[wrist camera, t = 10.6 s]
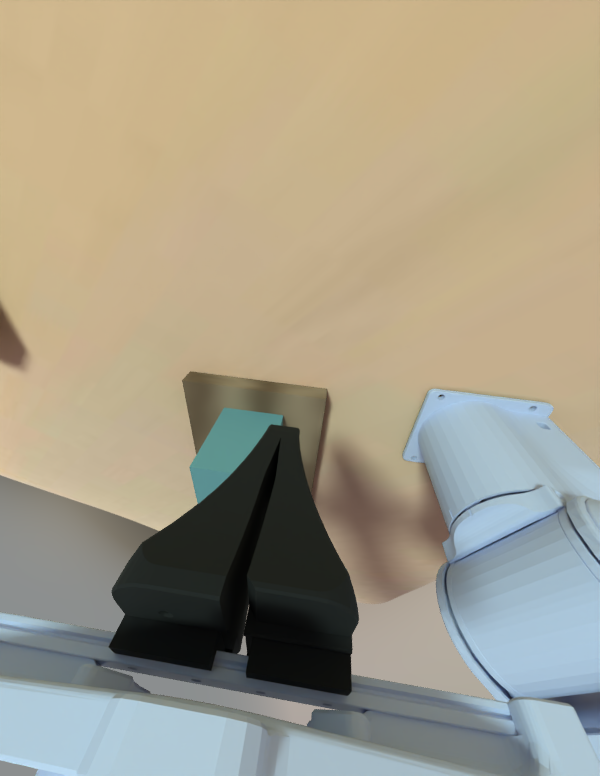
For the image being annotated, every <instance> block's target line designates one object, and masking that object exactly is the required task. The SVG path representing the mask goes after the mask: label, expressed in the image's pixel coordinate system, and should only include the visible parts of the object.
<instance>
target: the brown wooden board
mask: <svg viewBox="0 0 600 776" xmlns="http://www.w3.org/2000/svg"><path fill="white" fill-rule="evenodd" d="M182 382H183V387H184V392H185V398H186V403H187V408H188V413H189V418H190V424H191V429H192V434H193V439H194V444H195V450H196V455H197V453H198V452H199V450H200V448H201V447H202V445H203V443H204V441H205V440H206V438H207V436H208V434H209V433H210V431H211V429H212V428H213V426H214V424H215V422H216V421H217V419H218V417H219V416H220V414H221V412H222V410H223V409H224V408H232V409H239V410H247V411H254V412H262V413H270V414H277V415H283V426H288V427H296V428H299V430H300V435H299V440H300V451H301V457H302V462H303V467H304V471H305V475H306V478H307V482H308V485H309V489H310V492H312V486H313V479H314V473H315V467H316V461H317V454H318V448H319V442H320V435H321V429H322V423H323V417H324V410H325V404H326V396H327V389H322V388H314V387H307V386H299V385H291V384H283V383H275V382H268V381H260V380H252V379H244V378H236V377H229V376H221V375H213V374H205V373H197V372H190V373H189V374H188V375H187V376H186V377H185V378H184V379H183V380H182Z"/></svg>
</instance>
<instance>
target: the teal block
mask: <svg viewBox="0 0 600 776" xmlns="http://www.w3.org/2000/svg"><path fill="white" fill-rule="evenodd" d="M271 424H273V425H281V426H283V415H277V414H270V413H262V412H254V411H247V410H239V409H232V408H224V409H223V410H222V412H221V414H220V416H219V417H218V419H217V421H216V422H215V424H214V426H213V428H212V429H211V431H210V433H209V434H208V436H207V438H206V440H205V441H204V443H203V445H202V447H201V448H200V450H199V452H198V453H197V455H196V457H195V459H194V460H193V462H192V464H191V465H190V471H191V476H192V480H193V484H194V489H195V493H196V498H197V502H198V504H199V503H200V502H201V501H202V500H203V499H205V498H206V497H207V496H208V495H209V494H210V493H212V492H213V491H214V490H215V489H216V488H217V487H218V486H219V485H220V484H222V483H223V482H224V481H225V480H226V479H227V478H228V477H229V476H230V475H231V474H232V473H233V472H234V471H235V469H236V468H237V467H238V466H239V465H240V464H241V463H242V462H243V461H244V459H245V458H246V457H247V456H248V455H249V453H250V452H251V451H252V450H253V448H254V447H255V446H256V445H257V443H258V442H259V440H260V439H261V438H262V436H263V435H264V433H265V432H266V430H267V428H268V427H269V426H270V425H271Z"/></svg>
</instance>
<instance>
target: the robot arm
mask: <svg viewBox="0 0 600 776" xmlns="http://www.w3.org/2000/svg"><path fill="white" fill-rule="evenodd" d="M442 394H443V396H441V397H438V396H439V395H442ZM532 406H533V407H532ZM530 407H532V408H530ZM552 411H553V406H552V405H550V404H549V403H545V402H537V401H529V400H521V399H513V398H505V397H497V396H489V395H481V394H473V393H465V392H457V391H449V390H441V389H431V390H430V391H428V393H427V395H426V397H425V400H424V402H423V405H422V407H421V410H420V412H419V415H418V417H417V420H416V422H415V425H414V427H413V429H412V432H411V434H410V437H409V439H408V442H407V444H406V447H405V449H404V452H403V458H404V459H405V460H407V461H414V462H421V463H425V465H426V467H427V470H428V473H429V476H430V479H431V482H432V485H433V488H434V491H435V494H436V496H437V499H438V502H439V505H440V508H441V511H442V514H443V517H444V520H445V523H446V525H447V528H448V531H449V534H450V536H449V538H448V539H447V540H446V541H444V542H443V543H442V545H443V548H444V551H445V554H446V557H447V561H448V562H446V563H444V564H443V565H442V566H441V567H440V569H439V571H438V573H437V578H436V593H437V599H438V604H439V608H440V612H441V615H442V618H443V621H444V624H445V627H446V629H447V631H448V633H449V635H450V637H451V640H452V641H453V643H454V645H455V647H456V649H457V650H458V652H459V654H460V655H461V657H462V658H463V660H464V661H465V663H466V664H467V666H468V667H469V668H470V670H471V671H472V672H473V674H474V675H475V676H476V677H477V678H478V680H479V681H480V682H481V683H482V684H483V685H484V686H485V687H486V689H488V691H489V692H490V693H491V694H492V695H493V697H494V698H495V699H496V700H491V699H485V698H480V697H474V696H469V695H463V694H457V693H452V692H446V691H441V690H435V689H430V688H424V687H418V686H413V685H407V684H401V683H396V682H390V681H385V680H379V679H374V678H368V677H362V676H357V675H351V654H352V634H353V632H354V630H355V628H356V626H357V624H358V620H359V615H358V608H357V602H356V597H355V594H354V590H353V586H352V583H351V580H350V576H349V573H348V571H347V570H346V568H345V566H344V564H343V563H342V561H341V559H340V557H339V555H338V554H337V552H336V550H335V548H334V546H333V544H332V542H331V540H330V538H329V536H328V534H327V531H326V529H325V527H324V525H323V523H322V520H321V518H320V516H319V513H318V511H317V508H316V506H315V503H314V500H313V498H312V495H311V492H310V489H309V485H308V482H307V478H306V475H305V471H304V467H303V462H302V457H301V451H300V440H299V435H300V430H299V428H296V427H288V426H281V425H273V424H271V425H270V426H269V427H268V428H267V430H266V432H265V433H264V435H263V436H262V438H261V439H260V440H259V442H258V443H257V445H256V446H255V447H254V448H253V450H252V451H251V452H250V453H249V455H248V456H247V457H246V458H245V459H244V461H243V462H242V463H241V464H240V465H239V466H238V467H237V468H236V469H235V471H234V472H233V473H232V474H231V475H230V476H229V477H228V478H227V479H226V480H225V481H224V482H223V483H222V484H220V485H219V486H218V487H217V488H216V489H215V490H214V491H213V492H212V493H210V494H209V495H208V496H207V497H206V498H205V499H203V500H202V501H201V502H200V503H199V504H197V505H196V506H195V507H193V508H192V509H191V510H189V511H188V512H187V513H185V514H184V515H183V516H181V517H180V518H179V519H177V520H176V521H174V522H173V523H172V524H170V525H169V526H167V527H165V528H164V529H162V530H161V531H159V532H158V533H156V534H155V535H153V536H152V537H150V538H149V539H147V540H146V541H144V542H142V544H141V545H140V546H139V548H138V549H137V550H136V552H135V553H134V555H133V556H132V557H131V559H130V560H129V562H128V563H127V565H126V566H125V568H124V570H123V572H122V573H121V575H120V577H119V578H118V580H117V582H116V583H115V585H114V587H113V589H112V596H113V598H114V600H115V601H116V603H117V604H118V605H119V607H120V608H121V609H122V611H123V612H124V613H125V616H124V618H123V620H122V622H121V624H120V626H119V627H118V629H117V631H116V632H111V631H105V630H99V629H94V628H88V627H83V626H77V625H71V624H66V623H60V622H55V621H49V620H43V619H38V618H32V617H26V616H21V615H16V614H10V613H4V612H0V760H1V761H6V762H11V763H15V764H19V765H23V766H28V767H33V768H37V769H38V771H37V773H36V775H35V776H600V468H599V467H598V466H597V465H596V464H595V463H594V462H593V461H592V460H591V459H590V458H589V457H588V456H587V455H586V454H585V453H584V452H583V451H582V450H581V449H580V448H579V447H578V446H577V445H576V444H575V443H574V442H573V441H572V440H571V439H570V438H569V437H568V436H567V435H566V434H565V433H564V432H563V431H562V430H561V429H560V428H559V427H558V426H557V425H556V424H554V423H553V422H552V421H551V420H550V419H549V418H548V416H549V415H550V414H551V412H552ZM413 456H415V457H413ZM248 605H249V610H248ZM247 611H248V615H247ZM246 616H247V619H246ZM245 622H246V624H245ZM244 627H245V628H244ZM243 633H244V634H243ZM243 635H244V636H246V645H247V656H244V655H239V654H237V653H238V652H239V651H240V649H241V643H242V638H243ZM102 666H104V667H110V668H115V669H120V670H126V671H132V672H137V673H142V674H148V675H153V676H158V677H163V678H169V679H175V680H180V681H185V682H190V683H196V684H202V685H206V686H212V687H217V688H223V689H229V690H234V691H240V692H244V693H249V694H255V695H260V696H266V697H272V698H276V699H282V700H287V701H293V702H298V703H303V704H309V705H314V706H320V707H325V708H330V709H336V710H319V709H318V710H317V709H315V710H314V711H313V712H312V719H311V721H309V723H308V724H307V726H303V725H299V724H295V723H291V722H287V721H283V720H279V719H275V718H271V717H267V716H263V715H259V714H255V713H250V712H246V711H242V710H237V709H233V708H228V707H224V706H219V705H214V704H209V703H203V702H198V701H193V700H187V699H181V698H175V697H170V696H164V695H157V694H150V692H149V691H148V690H146V689H144V688H142V687H140V686H139V685H138V684H137V683H135V682H134V681H133V677H132V676H129V675H126V674H123V673H119V672H116V671H113V670H110V669H107V668H103V667H102Z"/></svg>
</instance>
